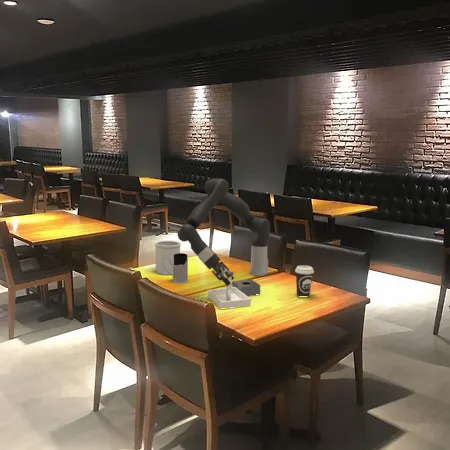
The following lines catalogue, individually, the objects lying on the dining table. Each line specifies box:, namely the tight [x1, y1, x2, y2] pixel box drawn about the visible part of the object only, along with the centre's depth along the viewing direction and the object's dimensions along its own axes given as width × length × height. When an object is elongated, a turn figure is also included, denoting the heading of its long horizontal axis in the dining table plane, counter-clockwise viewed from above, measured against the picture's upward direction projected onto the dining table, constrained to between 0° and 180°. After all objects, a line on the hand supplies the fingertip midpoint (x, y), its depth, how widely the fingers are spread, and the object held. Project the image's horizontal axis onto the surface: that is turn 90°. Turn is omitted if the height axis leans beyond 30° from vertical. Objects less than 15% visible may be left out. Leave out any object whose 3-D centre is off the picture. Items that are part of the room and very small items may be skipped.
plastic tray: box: [207, 286, 252, 309], centre depth 246 cm, size 15×19×4 cm
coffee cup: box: [294, 264, 315, 297], centre depth 255 cm, size 10×10×15 cm
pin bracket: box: [231, 278, 261, 297], centre depth 259 cm, size 11×11×5 cm
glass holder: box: [163, 252, 189, 285], centre depth 274 cm, size 9×14×15 cm, turn 94°
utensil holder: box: [154, 239, 182, 276], centre depth 292 cm, size 15×15×18 cm
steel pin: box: [224, 270, 234, 301], centre depth 245 cm, size 4×4×14 cm
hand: (231, 282), depth 244 cm, fingers open, 8 cm apart
